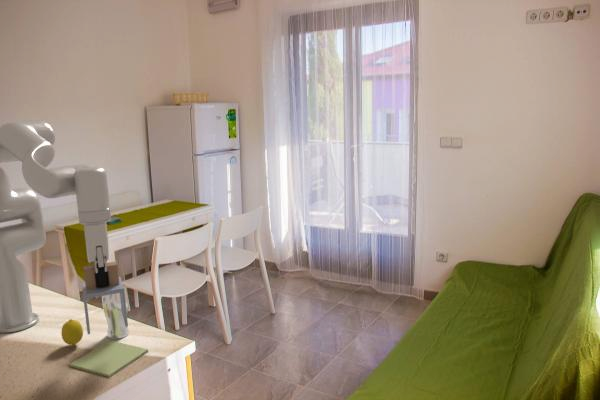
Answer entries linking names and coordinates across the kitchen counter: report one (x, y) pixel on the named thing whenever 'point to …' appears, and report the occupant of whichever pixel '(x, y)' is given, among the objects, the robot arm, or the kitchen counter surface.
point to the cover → (103, 288)
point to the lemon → (72, 332)
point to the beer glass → (115, 315)
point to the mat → (109, 358)
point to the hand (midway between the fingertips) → (102, 283)
